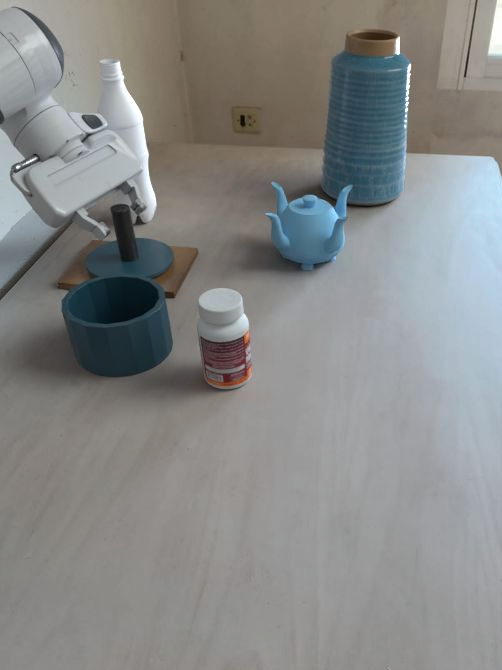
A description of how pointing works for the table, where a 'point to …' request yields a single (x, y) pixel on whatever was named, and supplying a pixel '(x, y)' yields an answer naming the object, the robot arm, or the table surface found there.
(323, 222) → the teapot
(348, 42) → the vase
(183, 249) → the mat
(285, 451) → the table surface
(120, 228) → the lid
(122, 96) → the water bottle
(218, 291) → the pill bottle
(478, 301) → the table surface
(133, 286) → the pot
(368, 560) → the table surface
